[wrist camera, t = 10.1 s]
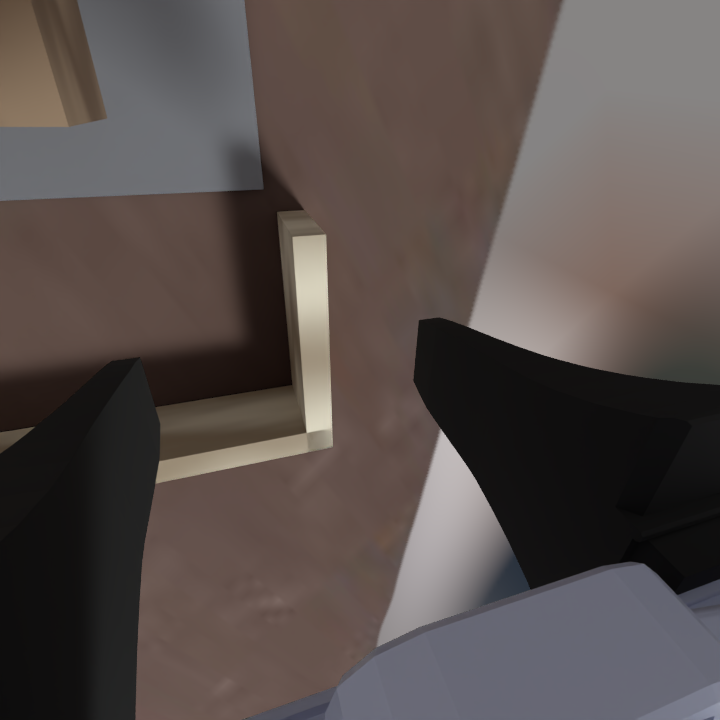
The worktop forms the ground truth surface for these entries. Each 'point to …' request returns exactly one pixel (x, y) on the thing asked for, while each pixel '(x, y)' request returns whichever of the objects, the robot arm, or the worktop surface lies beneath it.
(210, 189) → the rubber mat
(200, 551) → the worktop surface
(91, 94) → the wooden cube
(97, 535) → the robot arm
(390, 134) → the worktop surface
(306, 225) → the beige angled piece
